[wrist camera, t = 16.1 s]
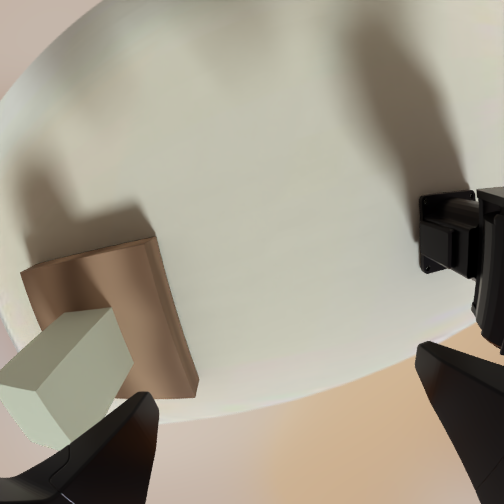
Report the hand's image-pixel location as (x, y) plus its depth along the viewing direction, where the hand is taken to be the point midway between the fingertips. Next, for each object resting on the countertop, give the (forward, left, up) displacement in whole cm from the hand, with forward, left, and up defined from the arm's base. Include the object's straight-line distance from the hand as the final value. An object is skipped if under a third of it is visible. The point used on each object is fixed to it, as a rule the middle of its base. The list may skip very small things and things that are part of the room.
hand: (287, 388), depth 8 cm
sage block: (+14, +3, -10) cm, 18 cm away
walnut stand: (+14, +3, -13) cm, 19 cm away
